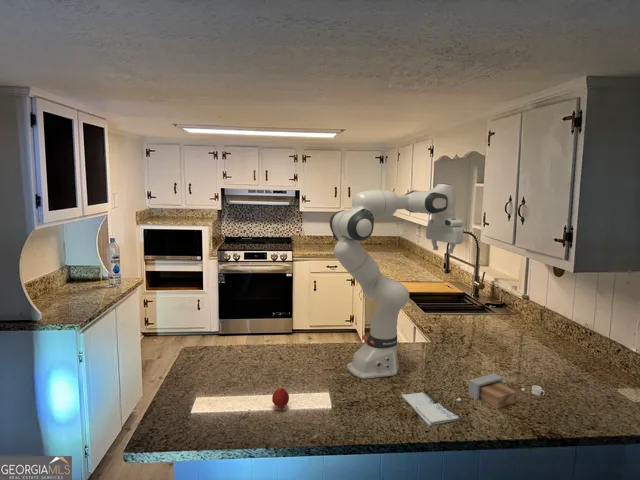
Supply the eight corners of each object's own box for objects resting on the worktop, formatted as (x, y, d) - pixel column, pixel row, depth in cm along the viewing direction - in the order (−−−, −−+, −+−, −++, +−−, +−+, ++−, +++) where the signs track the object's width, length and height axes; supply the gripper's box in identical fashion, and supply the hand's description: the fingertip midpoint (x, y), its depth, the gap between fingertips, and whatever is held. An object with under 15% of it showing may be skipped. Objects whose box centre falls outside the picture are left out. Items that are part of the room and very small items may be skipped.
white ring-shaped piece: (517, 393, 155) (517, 383, 155) (533, 389, 158) (533, 379, 158) (536, 405, 147) (537, 394, 147) (553, 401, 150) (554, 390, 149)
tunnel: (476, 400, 148) (477, 384, 147) (468, 395, 151) (469, 379, 150) (501, 393, 153) (502, 377, 152) (493, 388, 156) (494, 373, 156)
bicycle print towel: (429, 427, 134) (429, 421, 133) (400, 397, 153) (400, 391, 153) (479, 418, 139) (479, 412, 139) (445, 390, 158) (445, 384, 158)
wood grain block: (497, 408, 141) (498, 397, 141) (471, 392, 152) (471, 382, 152) (515, 402, 145) (516, 392, 145) (488, 387, 156) (489, 377, 156)
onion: (280, 401, 148) (280, 380, 147) (292, 407, 144) (292, 385, 143) (269, 408, 144) (268, 387, 143) (280, 414, 140) (280, 392, 139)
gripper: (423, 219, 190) (422, 248, 192) (455, 222, 172) (453, 255, 173) (433, 218, 193) (432, 247, 194) (466, 222, 174) (464, 254, 176)
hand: (442, 251), depth 184 cm, fingers open, 8 cm apart
